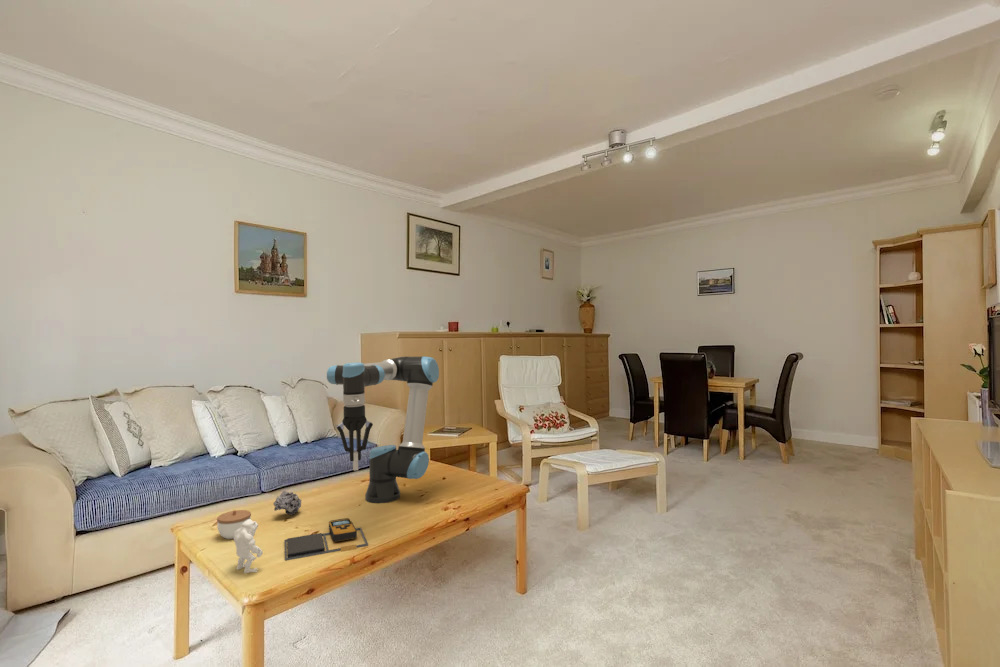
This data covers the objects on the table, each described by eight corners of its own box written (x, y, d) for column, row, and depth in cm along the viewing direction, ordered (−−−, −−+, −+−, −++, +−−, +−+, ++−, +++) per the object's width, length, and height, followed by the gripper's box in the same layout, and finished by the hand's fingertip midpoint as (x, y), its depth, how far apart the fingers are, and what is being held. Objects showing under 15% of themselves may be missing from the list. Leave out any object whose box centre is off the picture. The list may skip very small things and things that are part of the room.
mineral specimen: (296, 509, 199) (296, 486, 200) (308, 514, 194) (308, 490, 194) (267, 518, 190) (267, 493, 190) (278, 524, 184) (278, 498, 184)
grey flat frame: (284, 543, 167) (284, 537, 167) (360, 530, 178) (360, 525, 178) (284, 563, 151) (284, 557, 151) (368, 548, 162) (368, 542, 162)
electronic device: (332, 543, 164) (332, 533, 164) (327, 529, 178) (327, 520, 178) (357, 539, 168) (357, 529, 168) (350, 525, 182) (350, 516, 182)
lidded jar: (227, 545, 165) (227, 518, 165) (210, 538, 171) (211, 512, 171) (256, 534, 174) (257, 508, 174) (240, 528, 180) (240, 503, 180)
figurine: (227, 570, 147) (227, 521, 148) (248, 561, 153) (248, 514, 153) (245, 579, 141) (245, 529, 141) (266, 570, 147) (267, 521, 147)
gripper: (336, 408, 168) (338, 474, 168) (374, 405, 173) (375, 469, 174) (334, 405, 175) (335, 469, 175) (370, 402, 180) (371, 464, 180)
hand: (355, 469), depth 174 cm, fingers closed
